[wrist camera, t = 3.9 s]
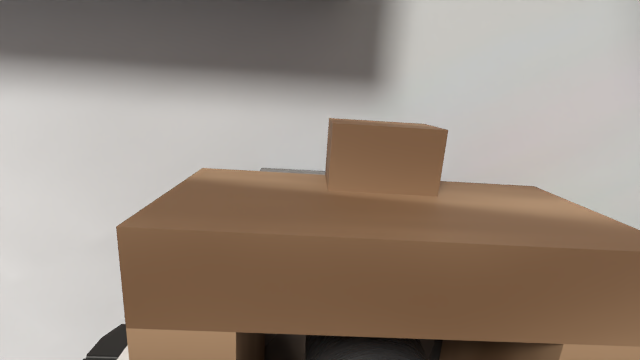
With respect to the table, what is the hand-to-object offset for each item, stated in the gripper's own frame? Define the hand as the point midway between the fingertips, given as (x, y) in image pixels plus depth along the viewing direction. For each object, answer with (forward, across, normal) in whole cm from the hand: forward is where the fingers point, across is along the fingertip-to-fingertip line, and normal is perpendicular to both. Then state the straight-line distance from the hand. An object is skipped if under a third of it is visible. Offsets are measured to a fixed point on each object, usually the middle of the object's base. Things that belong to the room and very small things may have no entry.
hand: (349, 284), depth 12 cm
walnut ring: (-2, 0, 0) cm, 2 cm away
